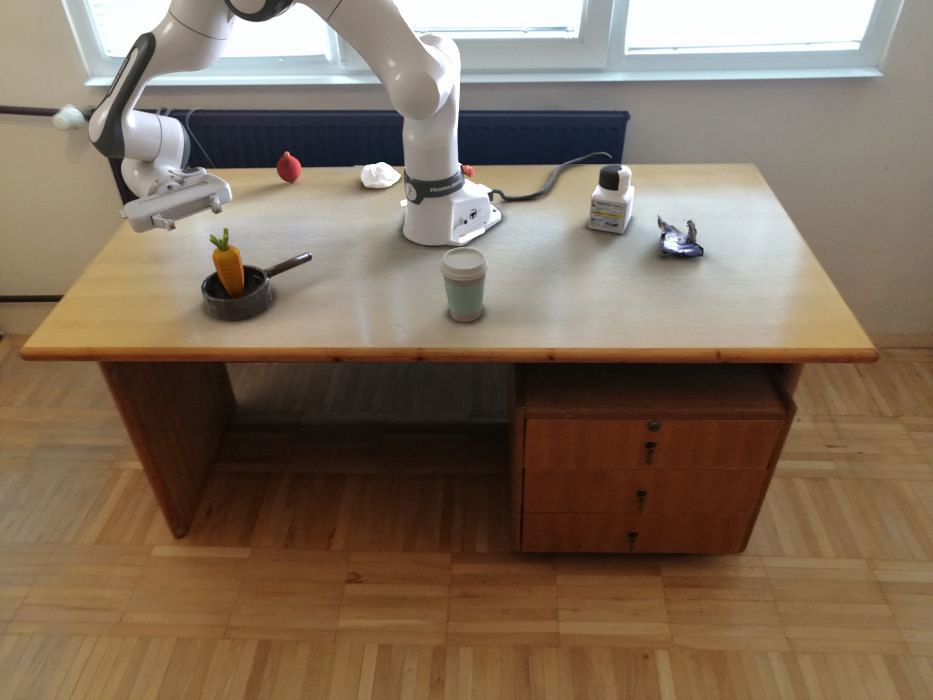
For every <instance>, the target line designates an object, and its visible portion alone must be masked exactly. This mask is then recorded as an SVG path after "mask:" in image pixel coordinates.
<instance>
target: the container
mask: <svg viewBox="0 0 933 700" xmlns="http://www.w3.org/2000/svg"><path fill="white" fill-rule="evenodd" d="M631 178H632V171H631V169H630V168H629V167H628V166H626V165H624V164H620V163H610V164H606V165H603V166H601V168H600V169H599V174H598V184H597V186H596V188H595V189H594V191H593V193H592V195H591V196H590V207H589V217H588V228H589V229H592V230H599V231H603V232H609V233H615V234H620V235H621V234H624V232H625V230H626V228H627V226H628V224H629V222H630V219H631V217H632V210H633V202H634V195H635V186H633V185H631V180H632V179H631Z"/></svg>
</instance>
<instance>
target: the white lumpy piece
mask: <svg viewBox="0 0 933 700" xmlns="http://www.w3.org/2000/svg"><path fill="white" fill-rule="evenodd" d="M400 178H401V174H400V173H398V171H396V170H394V169H393V167H392V166H391V165H390V164H387V163H386V162H383V161H382V162H377V163H375V164H373V163H372V164H366V165H365V166H364V167H363V168H362V169H361V171H360V180H361V182H362V183H363V186H364V187H365V188H368V189H369V188H370V189H385V188H389V187H391V186H392V185H394V184H395V183H397V182H398V181H399V179H400Z"/></svg>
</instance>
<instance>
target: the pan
mask: <svg viewBox="0 0 933 700" xmlns="http://www.w3.org/2000/svg"><path fill="white" fill-rule="evenodd" d="M242 265H243V270H244V287H243V292H242V295H241V298H237V299H235V298H234V297H233V296H232V295H230V294H229V292H228V291H227V290H226V289H225V287H224V285H223V284H222V282H221V280H220V278H219V276H218V273H217V271H214V272H212V273H210V274H209V275H207V276H206V277H205V279H204V280H203V281H202V283H201V287H200V290H201V294H202V297H203V301H204V304H205V307H206V310H207V312H208V314H209V315H210V316H211V317H213V318H214V319H217V320H220V321H225V322H235V321H242V320H243V321H244V320H246V319H250V318H253V317H256V316H257V315H260V314H261V313H262V312H264V311H265V310H266V309H267V308H268V307H269V306H270V304H271V303H272V301H273V294H272V293H273V292H272V289H271V285H270V281H269V279H268V277H267V274H266V272H265V271H263V270H264V269H262V268H261V267H258V266H255V265H249V264H242ZM259 272H260V273H261V274H260V273H259ZM260 275H261V276H262V277H263V278H262V277H260Z"/></svg>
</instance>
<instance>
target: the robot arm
mask: <svg viewBox="0 0 933 700" xmlns="http://www.w3.org/2000/svg"><path fill="white" fill-rule="evenodd" d="M296 4H302V5H304V6H306V7H308V8H309V9H311V10H312V11H313V12H314V13H315V14H316V15H318V16H319V17H320V19H322V20H323V21H324V22H325V23H326V24H327V25H328V26H329V27H330V28H331V29H333V30H334V32H336V33H337V34H338V35H339V36H340V37H341V38H342V39H343V40H344V41H345V42H346V43H347V44H348V45H350V46H351V48H352V49H354V51H356V52H357V54H359V56H360V57H361V58H362V59H363V60H364V61H365V62H366V64H367V65H368V67H369V68H370V70H371V71H372V72H373V73H374V75H375V76H376V78H377V79H378V81H380V83H381V85H382V86H383V88H384V89H385V90H386V92H387V94H388V96H389V100H390V102H391V105H392V106H393V108H394V110H395V111H396V112H397V113H398V114H399V115H400V116H402V117H403V126H402V147H403V158H404V160H403V161H404V169H403V184H404V192H405V197H406V199H404V200H401V201H400V205H401V207H403V206H405V216H404V222H403V226H402V234H403V236H404V237H405V238H406V239H408V240H409V241H411V242H413V243H416V244H417V245H418V244H419V245H422V246H423V245H424V246H453V247H463V246H464V245H466V244H467V243H469V242H470V241H472V240H473V239H475V238H477V237H478V236H479V235H481V234H484V233H485V231H487V230H488V229H490V228H491V227H493V226H494V225H495V224H497V223H499V222H500V221H502V214H501V212H500V211H499V209H498V208H496V207H495V206H494V205H492V204H491V202H493V201H494V194H498V195H499V196H500V198H501V199H502V200H504V201H511V202H512V201H526V200H531V199H535V198H538V197H540V196H542V195H543V194H545V193H547V191H548V190H549V189H550V187H551V186H552V184H553V183H554V181H555V180H556V177H557V174H558V173H559V172H560V171H561V170H562V169H564V168H566V167H569V166H570V165H571V166H572V165H575V164H577V163H582V162H584V161H586V160H589V159H592V158H595V157H605V158H607V159H612V156H611V155H610V154H609V153H607V152H603V151H598V152H593V153H590V154H588V155H584V156H582V157H579V158H576V159H575V158H574V159H572V160H569V161H566V162H563V163H562V164H560V165H559V166H557V167H556V168H555V169H554V171H553V172H552V175H551V177H550V179H549V180H548V182H547V183H546V185H545V186H544V187H543V189H541V190H540V191H537V192H534V193H531V194H527V195H522V196H509V195H505V193H504V192H503V190H501V189H498V188H489V187H487V186H486V185H483V184H482V183H478V184H476V183H474V182H472V181H471V180H469V179H467V178H466V177H465V176H467V177H468V178H472V177H473V176H474V175H475V171H476V170H475V169H474V167H471V166H469V165H464V166H463V164H462V163H460V162H459V150H458V149H459V146H458V125H459V124H458V123H459V107H460V83H461V80H460V79H461V78H460V77H461V76H460V74H461V60H460V59H461V57H460V53H459V49H458V47H457V45H456V43H455V42H454V41H453V39H451V38H450V37H449V36H447V35H445V34H444V33H440V32H430V33H427V34H423V35H421V36H419V37H418V36H417V35H416V33H415V31H413V29H412V28H411V26H410V25H409V23H408V22H407V20H406V18H405V17H404V15H403V13H402V11H401V9H400V7H399V5H398V4H397V3H396V2H395V1H394V0H171V1H170V4H169V6H168V9H167V12H166V14H165V16H164V17H163V19H162V20H161V21H160V22H159V24H158V25H157V26H155V27H154V28H153V29H152V30H150V31H148V32H144V33H142V34H140V35H139V36H138V37H137V39H136V40H135V42H134V43H133V44H132V46H131V48H130V49H129V51H128V53H127V55H126V56H125V59H124V60H123V62H122V64H121V65H120V68H119V69H118V72H117V73H116V75H115V77H114V79H113V81H112V83H111V85H110V87H109V88H108V90H107V92H106V94H105V96H104V97H103V99H102V100H101V101H100V103H99V104H98V105H97V107H95V109H94V111H93V112H92V114H91V116H90V119H89V122H88V129H87V132H88V133H87V135H88V140H89V142H90V143H91V144H92V145H93V148H95V149H96V150H97V151H98V153H100V154H101V155H102V156H103V157H105V158H112V159H122V161H121V166H120V171H121V172H120V173H121V175H122V179H123V181H124V183H125V185H126V186H127V188H128V189H129V190H130V191H131V192H132V193H133V194H134V195H135V196H136V197H138V198H137V199H134V200H131V201H129V202H127V203H125V204H124V206H122V208H121V209H119V210H118V215H119V216H120V217H121V218H122V219H123V220H127V221H128V223H129V226H130V227H131V229H132V230H133V232H134V233H138V234H139V233H140V234H142V233H146V232H148V231H152V230H155V229H161V230H162V229H164V230H167V231H168V232H171V231H173V230H176V229H177V226H176V223H175V222H177V221H180V220H183V219H186V218H189V217H191V216H194V215H198V214H199V213H203V212H205V211H208V210H211V212H212V213H213V214H214V215H218V214H221V213H223V208H222V205H225V204H228V203H230V202H231V201H232V200H233V195H232V190H231V186H230V184H229V183H228V182H227V181H226V180H224V179H222V178H221V177H219V176H218V175H216V174H214V173H210V172H208V173H207V170H206V169H205V167H202V166H196V167H190V168H185V167H186V166H187V164H188V162H189V158H190V153H191V139H190V136H189V134H188V132H187V130H186V128H185V126H184V125H183V123H182V122H181V121H180V120H179V119H178V118H174V117H171V116H167V115H161V114H157V113H150V112H146V111H141V110H136V109H134V107H135V106H136V104H137V102H138V101H139V99H140V97H141V95H142V93H143V92H144V90H145V88H146V86H147V84H148V83H149V82H151V81H152V80H153V79H155V78H157V77H161V76H163V75H164V76H165V75H169V74H174V73H185V72H188V73H189V72H198V71H202V70H206V69H208V68H209V67H212V66H213V65H215V64H216V63H217V62H218V61H219V59H220V58H221V56H222V54H223V53H224V50H225V48H226V45H227V43H228V41H229V40H228V39H229V37H230V34H231V32H232V29H233V26H234V24H235V21H236V20H237V18H239V19H242V20H243V21H247V22H251V23H262V22H263V23H264V22H267V21H270V20H272V19H273V18H277V17H279V16H281V15H283V14H285V13H286V12H287V11H289V10H290V9H291V8H292V7H294V6H296Z"/></svg>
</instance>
